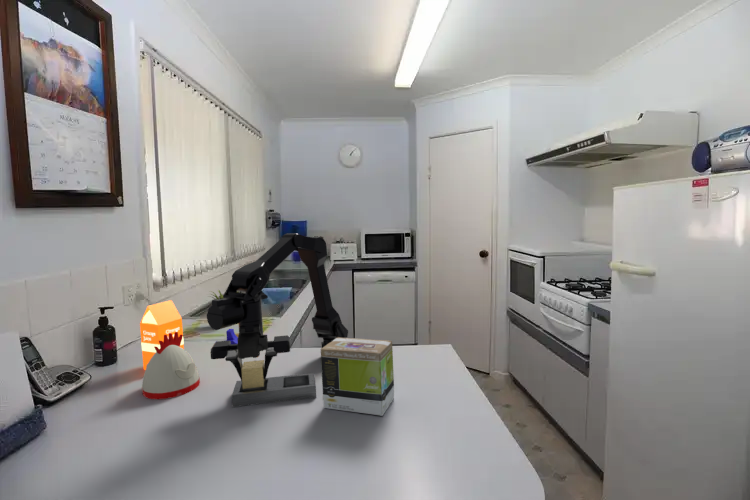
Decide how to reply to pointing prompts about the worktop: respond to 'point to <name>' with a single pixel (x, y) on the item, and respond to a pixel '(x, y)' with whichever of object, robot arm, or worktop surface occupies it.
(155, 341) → the orange juice
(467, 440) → the worktop surface
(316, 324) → the robot arm
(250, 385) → the brass cuboid
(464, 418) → the worktop surface
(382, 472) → the worktop surface
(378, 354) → the tea box
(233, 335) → the cable clip
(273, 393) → the grey flat block
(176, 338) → the kitchen timer
